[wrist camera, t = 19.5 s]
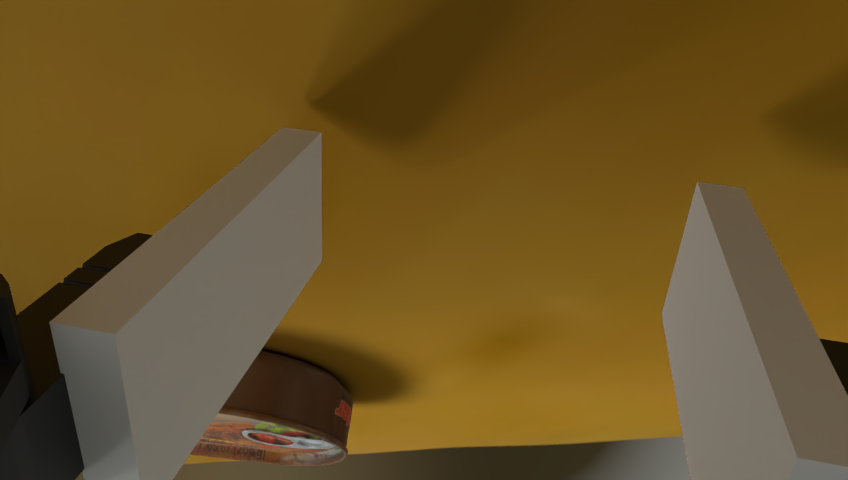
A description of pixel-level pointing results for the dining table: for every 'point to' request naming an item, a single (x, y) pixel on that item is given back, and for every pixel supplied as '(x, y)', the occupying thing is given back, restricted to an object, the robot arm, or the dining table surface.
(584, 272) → the dining table surface
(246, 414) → the tin
